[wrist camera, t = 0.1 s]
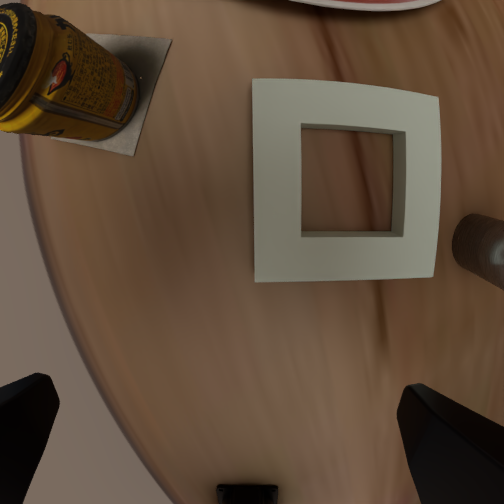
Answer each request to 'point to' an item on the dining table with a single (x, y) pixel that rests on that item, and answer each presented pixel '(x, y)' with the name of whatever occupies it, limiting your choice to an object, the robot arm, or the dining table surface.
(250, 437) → the dining table surface
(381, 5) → the dinner plate
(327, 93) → the white flat square frame
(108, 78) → the condiment
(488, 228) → the jar with gold lid
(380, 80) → the dining table surface
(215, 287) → the dining table surface
